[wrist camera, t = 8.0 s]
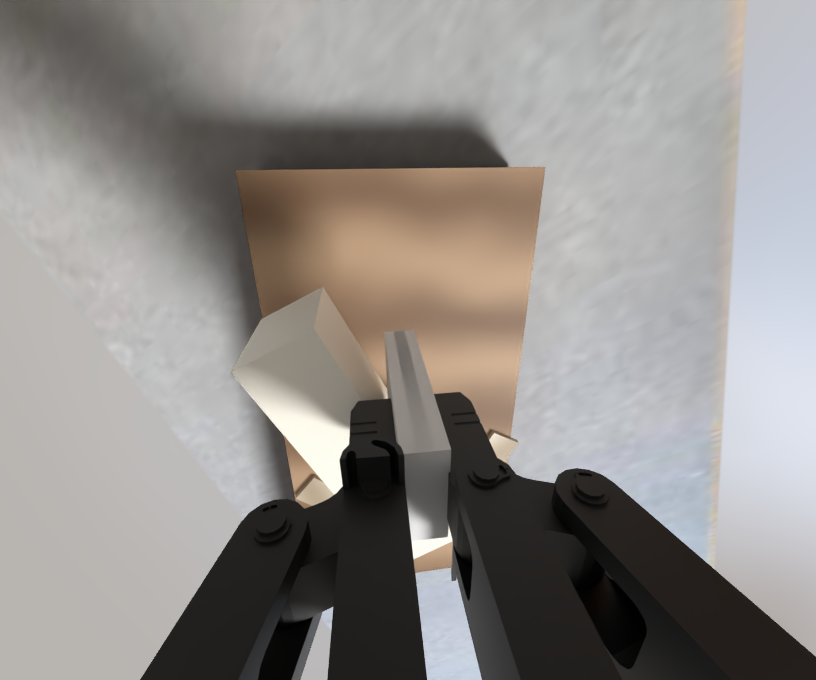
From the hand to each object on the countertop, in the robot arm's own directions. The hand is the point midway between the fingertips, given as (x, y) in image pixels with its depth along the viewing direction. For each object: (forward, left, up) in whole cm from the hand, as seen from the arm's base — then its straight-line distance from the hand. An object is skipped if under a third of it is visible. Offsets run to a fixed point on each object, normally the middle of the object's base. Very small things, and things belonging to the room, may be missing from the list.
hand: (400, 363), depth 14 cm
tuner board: (+7, +1, -10) cm, 12 cm away
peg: (+6, 0, -6) cm, 9 cm away
